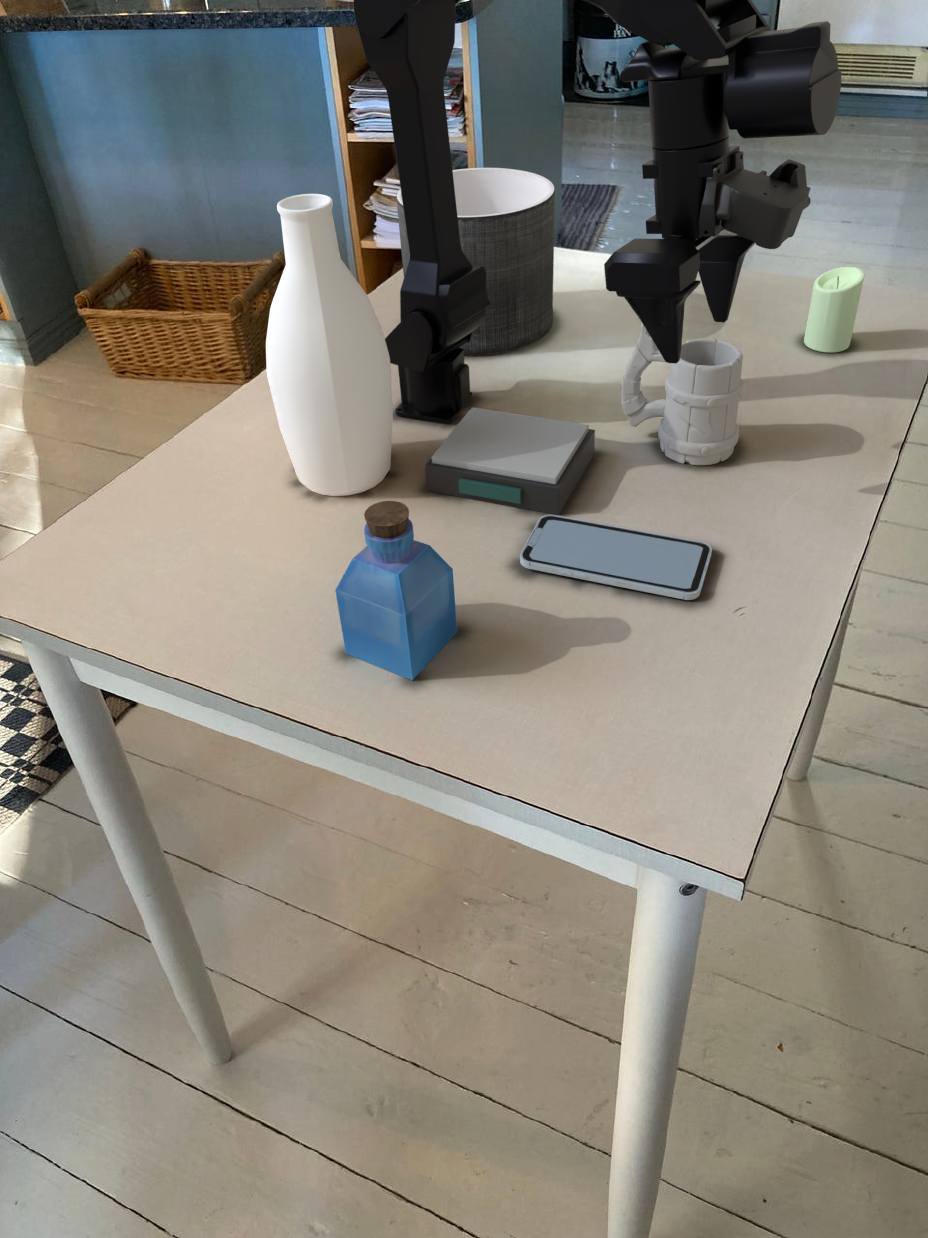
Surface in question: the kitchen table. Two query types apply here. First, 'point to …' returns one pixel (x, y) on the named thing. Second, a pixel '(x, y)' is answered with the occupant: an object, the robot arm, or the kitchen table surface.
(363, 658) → the perfume bottle
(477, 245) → the planter
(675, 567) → the smartphone
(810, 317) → the candle
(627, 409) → the mug
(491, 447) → the scale
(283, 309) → the bottle
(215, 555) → the kitchen table surface
